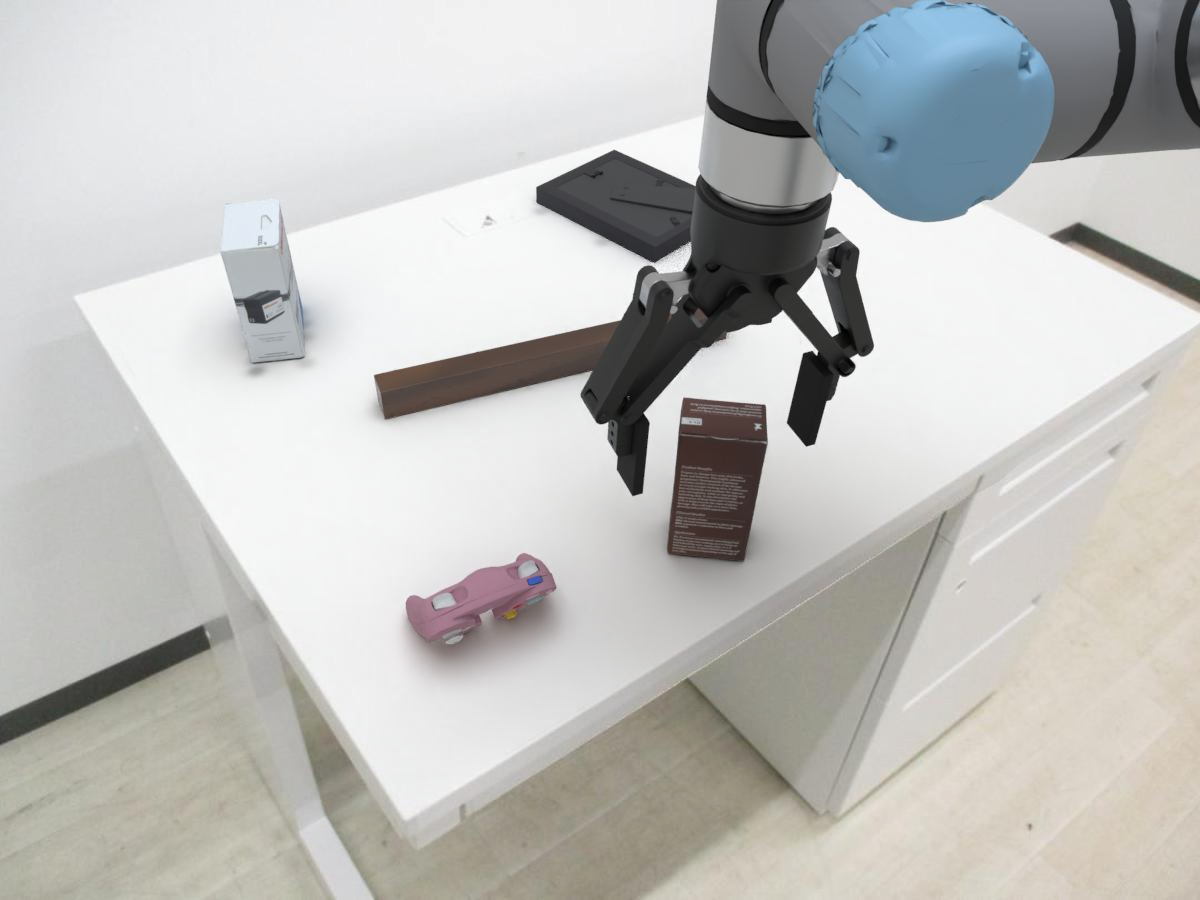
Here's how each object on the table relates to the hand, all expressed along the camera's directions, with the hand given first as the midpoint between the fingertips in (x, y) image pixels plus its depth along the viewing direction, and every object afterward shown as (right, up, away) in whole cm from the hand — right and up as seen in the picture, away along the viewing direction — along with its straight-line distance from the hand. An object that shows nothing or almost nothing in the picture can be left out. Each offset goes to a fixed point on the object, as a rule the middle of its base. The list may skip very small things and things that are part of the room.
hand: (717, 457), depth 67 cm
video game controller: (-16, -11, 0) cm, 20 cm away
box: (0, -6, +6) cm, 9 cm away
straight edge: (-12, +8, +20) cm, 24 cm away
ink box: (-38, +11, +22) cm, 46 cm away
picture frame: (-5, +28, +41) cm, 50 cm away
